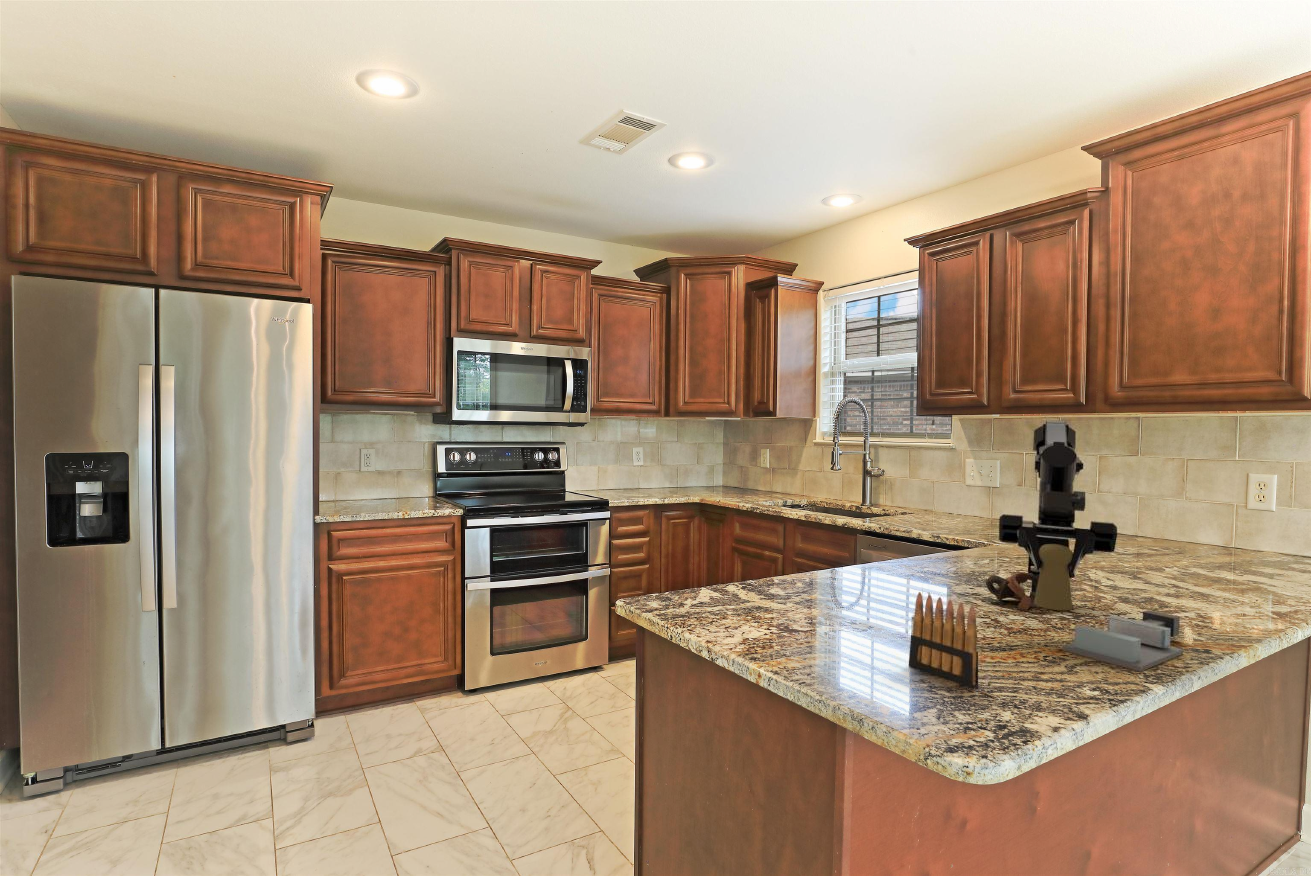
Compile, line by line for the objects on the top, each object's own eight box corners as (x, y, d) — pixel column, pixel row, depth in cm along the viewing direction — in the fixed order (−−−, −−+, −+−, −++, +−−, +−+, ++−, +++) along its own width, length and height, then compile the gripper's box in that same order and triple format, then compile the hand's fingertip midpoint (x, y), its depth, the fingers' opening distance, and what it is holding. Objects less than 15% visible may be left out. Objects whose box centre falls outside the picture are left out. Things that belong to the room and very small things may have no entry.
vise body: (1140, 671, 112) (1141, 645, 112) (1062, 650, 122) (1063, 625, 122) (1200, 646, 126) (1201, 622, 126) (1125, 629, 136) (1126, 607, 136)
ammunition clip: (908, 666, 111) (911, 591, 111) (915, 664, 113) (918, 590, 112) (971, 688, 103) (975, 607, 102) (978, 685, 104) (981, 605, 103)
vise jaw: (1163, 648, 120) (1164, 629, 120) (1106, 634, 128) (1107, 616, 128) (1191, 637, 127) (1192, 619, 127) (1135, 625, 135) (1136, 607, 135)
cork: (1078, 611, 122) (1081, 548, 122) (1041, 608, 123) (1044, 546, 123) (1064, 602, 128) (1066, 542, 128) (1028, 600, 129) (1031, 540, 129)
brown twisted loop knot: (1034, 603, 156) (1050, 575, 152) (1038, 631, 149) (1054, 604, 144) (978, 584, 159) (992, 557, 155) (979, 612, 152) (993, 584, 147)
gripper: (1001, 471, 133) (996, 538, 123) (1118, 478, 124) (1123, 550, 115) (1001, 508, 140) (996, 573, 131) (1112, 516, 131) (1115, 587, 122)
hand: (1055, 570), depth 124 cm, fingers closed on cork, 5 cm apart
